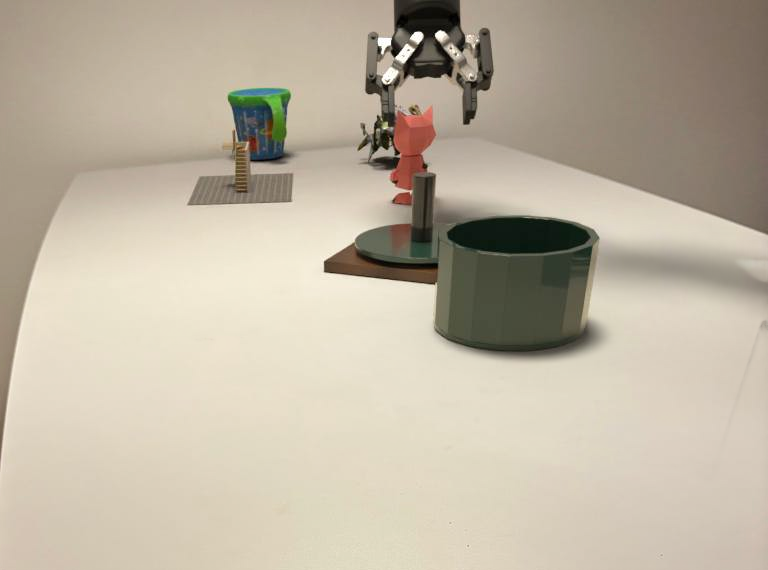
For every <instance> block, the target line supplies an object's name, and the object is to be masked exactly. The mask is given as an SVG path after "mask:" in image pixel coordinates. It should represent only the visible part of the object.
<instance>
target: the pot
mask: <svg viewBox="0 0 768 570" xmlns="http://www.w3.org/2000/svg"><path fill="white" fill-rule="evenodd" d="M448 224H449V225H447V226H446V227H444V228H443V229H442V230H440V231H439V233H438V249H437V266H436V283H435V284H434V285H435V286H434V301H433V302H434V303H433V326H434V329H435V331H436V332H437V333H438V334H440V336H442V337H444V338H446V339H448V340H450V341H452V342H455V343H458V344H461V345H464V346H468V347H473V348H476V349H484V350H492V351H504V352H511V351H512V352H521V351H522V352H524V351H525V352H527V351H538V350H547V349H551V348H556V347H560V346H563V345H566V344H569V343H571V342H573V341H575V340H577V339H578V338H580V337H581V336H582V334H583V333H584V331H585V326H586V325H587V322H588V316H589V309H590V303H591V297H592V290H593V284H594V278H595V271H596V266H597V265H596V264H597V260H598V259H597V258H598V252H599V246H600V240H601V238H600V236H599V234H598V233H597V232H596V230H595V229H594V228H592V227H590V226H587V225H584V224H582V223H580V222H577V221H573V220H568V219H562V218H559V217H552V216H551V217H550V216H538V215H537V216H536V215H525V214H521V215H519V214H517V215H515V214H512V215H490V216H481V217H474V218H467V219H463V220H460V221H456V222H453V223H448Z"/></svg>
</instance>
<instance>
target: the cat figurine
mask: <svg viewBox="0 0 768 570" xmlns="http://www.w3.org/2000/svg"><path fill="white" fill-rule="evenodd" d="M433 110H434V109H433V104H432V105H430V107H428V108H427V110H425V112H423V114H422V116H418V115H412V114H411V115H410V114H408V116H405V117H404V116H403V115H402V114H401V112H400V111H399V110H398V112H397V119H396V126H395V130H394V139H393V140H391V139H390V140H386V141H389V142H391V141H394V144H395V148H396V149H397V150H398V151H399V152H400V158H399V160H398V163H397V166H396V169H395V168H394V169H393V170H392V171H391V172H390V175H389V176H390V177H389V182H391V183H392V184H394V187H395V188H397V189H401V190H404V191H405V190H406V192H399V193H398V194H396V195H395V196H394V197H393V198H392V200H391V202H392V201H393V202H394V204H398V203H402V204H401V205H412V193H411V192H410V191H412V188H413V174H415V173H419V172H428V168H429V165H428V164H427V163H426V162H425V160H424V159H425V158H424V155H423V154H422V153H424V152H425V151H426V150H427V149H428V148H429V147H431V145H432V143H433V141H434V140H435V138H436V136H437V133H436V130H435V127H434V117H433V116H434V114H433V113H434V111H433ZM394 144H389V146H388V147H387V148H389V149H390V148H391V147H393V146H392V145H394ZM387 148H386V149H387ZM393 202H392V203H393Z"/></svg>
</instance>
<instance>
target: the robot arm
mask: <svg viewBox="0 0 768 570" xmlns="http://www.w3.org/2000/svg"><path fill="white" fill-rule="evenodd" d="M461 21H462V20H461V0H393V34H392V36H391V38H390V37H379V33H378V32H376V31H371V32H369V33H368V34H367V47H366V61H365V62H366V63H365V64H366V65H365V82H364V83H365V86H364V92H365V94H367V95H369V96H371V95H374V94H377V95H378V96H379V97H380V98H381V101H380V111H381V113H380V116H381V120H382V121H383V122H388V127H394V119H395V105H396V103H395V102H396V101H395V99H396V98H395V93H396V91H397V90H398V89H399V88H401V87H402V86H403V85H404V84H405V83H406V81H407V80H408V79H409V78H410V77H413V80H421V79H424V78H430V79H431V78H432V79H442V76H444V77H445V78H446V79H447V81H449V82H450V83H451V84H452V86H457V87H458V89H459V90H460V91H461V92H462V96H461V100H462V102H461V104H462V125H463V126H469V125H470V124H471V120H475V118H476V116H477V111H478V92H479V91H483V92H488V91H489V90H490V89H491V85H492V79H493V76H494V72H495V69H494V60H493V51H492V50H493V49H492V39H491V31H490V29H489V28H487V27H481V28H480V29H479V31H478V33H477V34H467V35H466V33H464V31H463V29H462V23H461ZM465 50H468V51H469V52H470V55H471V56H472V58H473V59H474V60H475V59H476V63H477V72H476V71H475V69H474V68H472V67H471V65H470V64H469V63H468V61H467V60H468V59H467V57H466V55H465V54H464V53H463V52H464V51H465ZM389 52H390V54H391V56H392V57H393V58H394V59H393V61H392V64H391V66H390V67H389V68H388V69H387V71H386V72H385V73H384V75H381V74H378V73H377V72H378V63H381V61H382V60H383V59H385V55H386V54H387V53H389Z"/></svg>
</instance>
